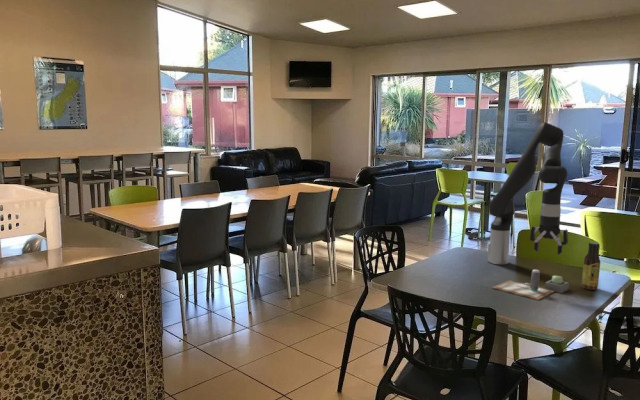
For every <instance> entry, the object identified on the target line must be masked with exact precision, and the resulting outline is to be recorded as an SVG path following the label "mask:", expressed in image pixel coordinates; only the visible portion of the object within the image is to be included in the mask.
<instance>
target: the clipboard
mask: <svg viewBox="0 0 640 400" xmlns="http://www.w3.org/2000/svg"><path fill="white" fill-rule="evenodd" d="M530 285H531V283H528V282H525V283H524V282H519V281H515V280H510V279H508V280H506V281H504V282H502V283H501V282H500V283H499V284H497V285H494V286H492V287H491V289H492V290H497V291H500V292H504V293H509V294H512V295H516V296H520V297H524V298H528V299H531V300H536V301H540V300H542V299H544V298H546V297H547V296H550V295H551V294H553V293H555V291H553V290H549V289H545V287H540V286H539V288H538V290H537V291H532V290H531V288H530Z"/></svg>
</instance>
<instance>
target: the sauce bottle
mask: <svg viewBox="0 0 640 400" xmlns="http://www.w3.org/2000/svg"><path fill="white" fill-rule="evenodd" d="M599 248H600V243H598V242H593V241H592V242H591V241H589V242H588V251H587V254H586V255H585V257H584V261H583V268H582V276H581V277H582V278H581V288H583V289H585V290H590V291H595V290H597V289H598V286H599V279H600V269H601V260H600V256H599Z"/></svg>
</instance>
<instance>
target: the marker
mask: <svg viewBox="0 0 640 400" xmlns="http://www.w3.org/2000/svg"><path fill="white" fill-rule="evenodd" d="M530 276H531V277H530V284H531V285H530V288H531V290H532V291H537V290H538V288H539V287H540V280H541V279H540V278H541V277H540V276H541V271H540V270H539V269H532V271H531V275H530Z"/></svg>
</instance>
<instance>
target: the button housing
mask: <svg viewBox="0 0 640 400" xmlns="http://www.w3.org/2000/svg"><path fill="white" fill-rule="evenodd" d="M569 287H570V282H567V281H564V280H562V284H561V285H558V284H554V283H552V278H551V279H550V280H547V281H545V282H544V288H545V289H549V290H553V291H554V293H559V294H562V293H565V292H566V291H569Z"/></svg>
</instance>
